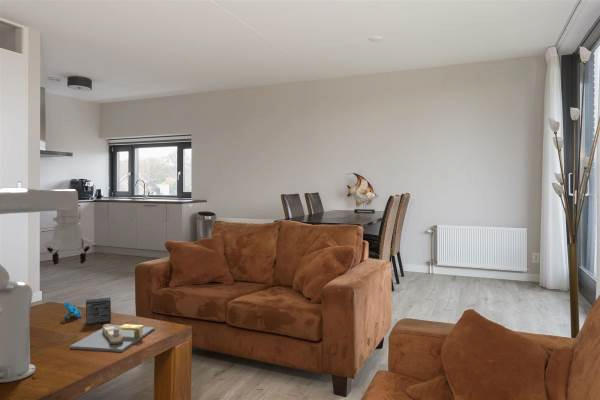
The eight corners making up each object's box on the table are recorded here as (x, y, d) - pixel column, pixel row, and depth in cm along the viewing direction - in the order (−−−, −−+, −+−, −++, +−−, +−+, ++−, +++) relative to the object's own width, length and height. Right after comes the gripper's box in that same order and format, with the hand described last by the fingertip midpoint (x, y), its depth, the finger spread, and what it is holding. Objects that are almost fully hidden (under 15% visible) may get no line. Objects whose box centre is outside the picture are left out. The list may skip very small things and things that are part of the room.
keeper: (138, 338, 176) (138, 328, 176) (119, 337, 177) (119, 327, 177) (143, 335, 180) (143, 325, 180) (124, 333, 181) (124, 324, 181)
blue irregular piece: (79, 317, 202) (63, 302, 201) (69, 326, 200) (53, 312, 200) (86, 313, 212) (71, 299, 212) (76, 322, 211) (61, 308, 211)
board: (121, 352, 164) (121, 349, 164) (69, 348, 167) (69, 345, 167) (154, 329, 190) (154, 327, 190) (108, 326, 193) (108, 324, 193)
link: (124, 342, 170) (124, 330, 170) (111, 345, 167) (111, 332, 167) (112, 328, 187) (112, 317, 186) (99, 331, 184) (99, 319, 184)
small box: (111, 318, 205) (111, 296, 205) (111, 322, 199) (110, 300, 199) (86, 321, 201) (86, 299, 201) (85, 325, 195) (85, 302, 195)
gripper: (40, 222, 163) (41, 266, 164) (88, 221, 166) (90, 264, 167) (47, 220, 170) (49, 262, 171) (94, 219, 173) (95, 260, 175)
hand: (69, 263), depth 169 cm, fingers open, 9 cm apart
